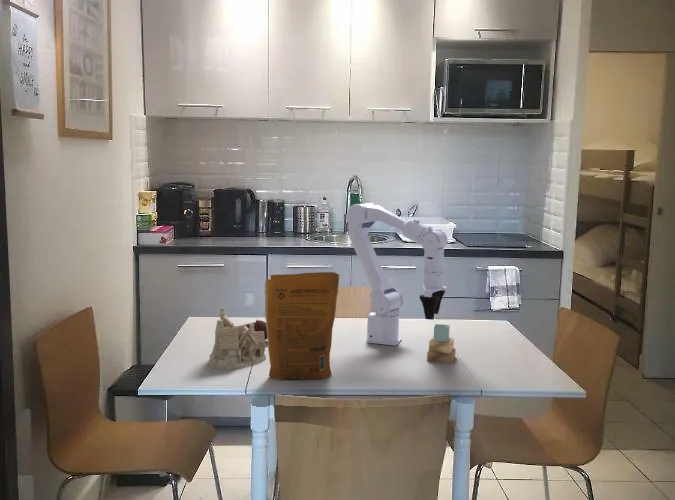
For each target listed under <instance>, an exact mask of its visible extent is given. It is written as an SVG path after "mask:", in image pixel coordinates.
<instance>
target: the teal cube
mask: <svg viewBox="0 0 675 500" xmlns="http://www.w3.org/2000/svg"><path fill="white" fill-rule="evenodd" d="M433 336H434V341H439V342H448V341H449V338H450V324H439V323H438V324H437V323H435V324H434V327H433Z"/></svg>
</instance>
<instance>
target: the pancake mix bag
mask: <svg viewBox="0 0 675 500" xmlns="http://www.w3.org/2000/svg"><path fill="white" fill-rule="evenodd" d="M339 283H340V274H338V273H337V272H333V271H332V272H331V271H328V272H327V271H322V272H321V271H320V272H318V271H317V272H303V273H292V274H289V273H287V274H286V273H285V274H270V278H265V282H264V316H265V317H264V318H265V323H266V329H267V347H268V348H267V349H268V357H269V363H270V364H269V366H270V367H269V373H268V377H269V378H271V377H272V379H274V378H276V379H275V380H277V379H280V380H279V381H292V380H293V381H294V380H295V381H296V380H299V381H300V380H324V379H327V378H329V377H331V376H332V375H333V374H332V369H331V363H330V362H331V361H330V359H331V358H330V356H331V349H332V342H333V341H332V339H333V328H334V322H335V317H336V312H337V311H336V309H337V300H338V294H339Z"/></svg>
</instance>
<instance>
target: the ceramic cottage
mask: <svg viewBox="0 0 675 500" xmlns="http://www.w3.org/2000/svg"><path fill="white" fill-rule="evenodd" d="M219 318H220V319H218V320H217V321H216V325H215V330H214V345H213V346H212V347H213V348H212V351H211V353H210V355H209V361H208V362H209V364H208V365H209V367H210V369H213V370H219V371H232V370H237V369H238V370H240V369H243V368H246V367H249V365H250V366H252V364H253V365H256V364H259V362H260V363H263V362H265V361H266V360H267V355H266V353H265V352H266V347H267V346H266V345H267V343H266V340H265V336H264V331H259V332H254V324H250V323H248V324H249V328H247V327H246V326H245V324H243V325H244V326H241V325H235V324H234V322H232V321H231V319H229V317H228V315H227V314H226V311H225V308H224V306H223V307H219ZM262 361H263V362H262Z"/></svg>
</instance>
